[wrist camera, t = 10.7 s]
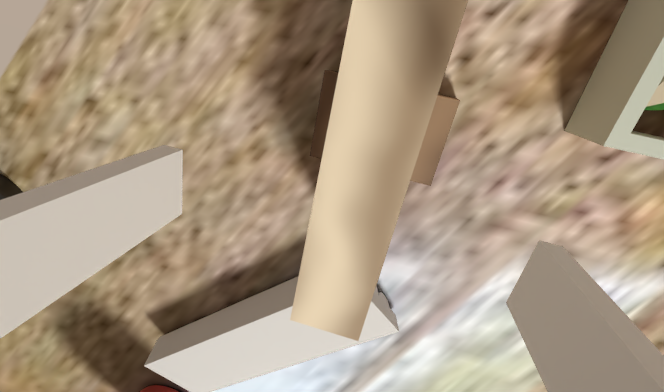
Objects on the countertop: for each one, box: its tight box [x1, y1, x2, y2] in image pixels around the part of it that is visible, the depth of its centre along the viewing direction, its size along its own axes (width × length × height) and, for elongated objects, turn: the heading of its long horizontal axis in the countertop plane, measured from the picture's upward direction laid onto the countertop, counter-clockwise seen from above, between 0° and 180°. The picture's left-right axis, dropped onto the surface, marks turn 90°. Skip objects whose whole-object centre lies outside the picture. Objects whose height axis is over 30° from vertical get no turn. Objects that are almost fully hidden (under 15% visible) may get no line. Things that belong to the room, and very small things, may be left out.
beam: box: [290, 0, 468, 341], centre depth 22 cm, size 5×24×10 cm, turn 169°
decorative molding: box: [144, 276, 399, 392], centre depth 43 cm, size 34×5×10 cm
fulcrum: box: [310, 70, 460, 186], centre depth 29 cm, size 12×8×5 cm, turn 79°
